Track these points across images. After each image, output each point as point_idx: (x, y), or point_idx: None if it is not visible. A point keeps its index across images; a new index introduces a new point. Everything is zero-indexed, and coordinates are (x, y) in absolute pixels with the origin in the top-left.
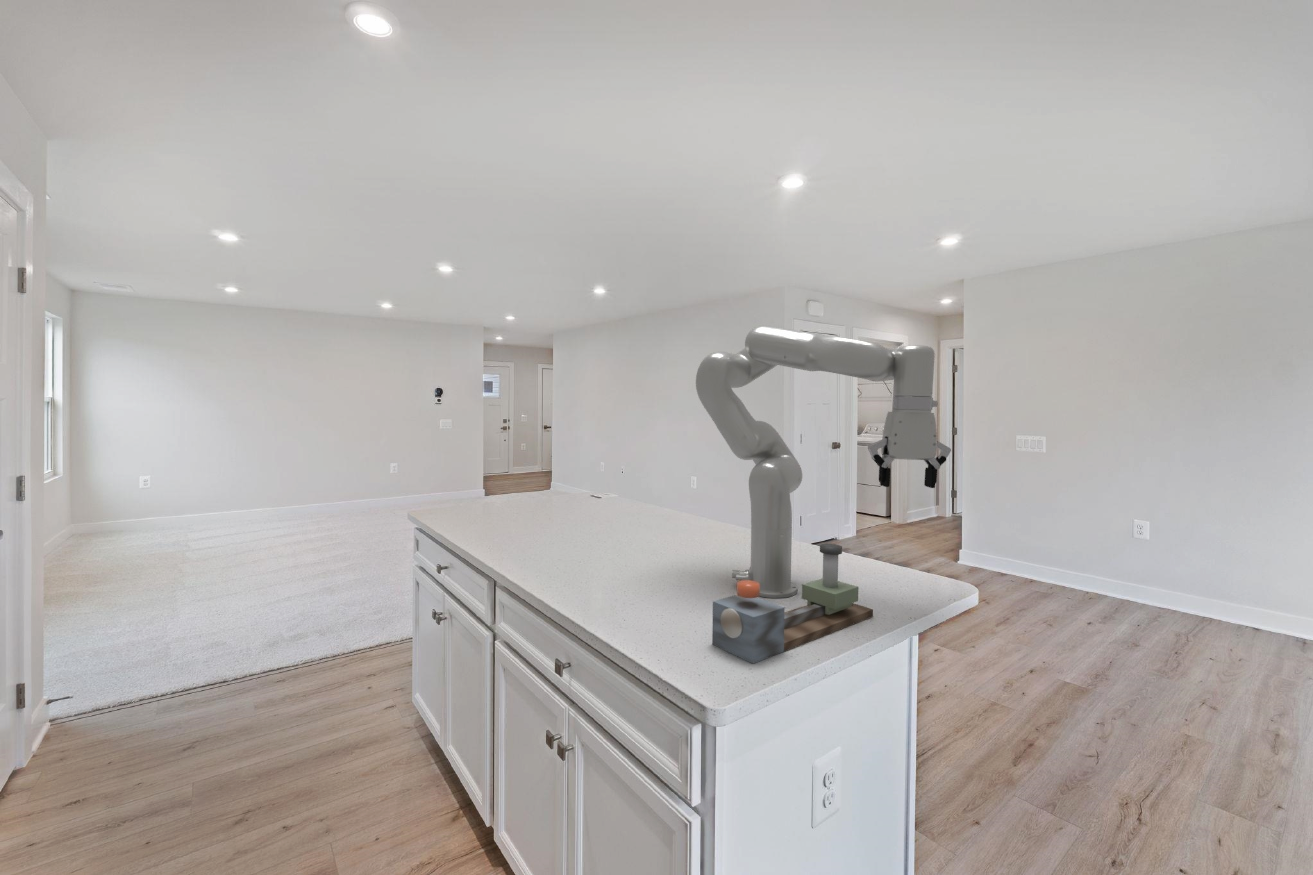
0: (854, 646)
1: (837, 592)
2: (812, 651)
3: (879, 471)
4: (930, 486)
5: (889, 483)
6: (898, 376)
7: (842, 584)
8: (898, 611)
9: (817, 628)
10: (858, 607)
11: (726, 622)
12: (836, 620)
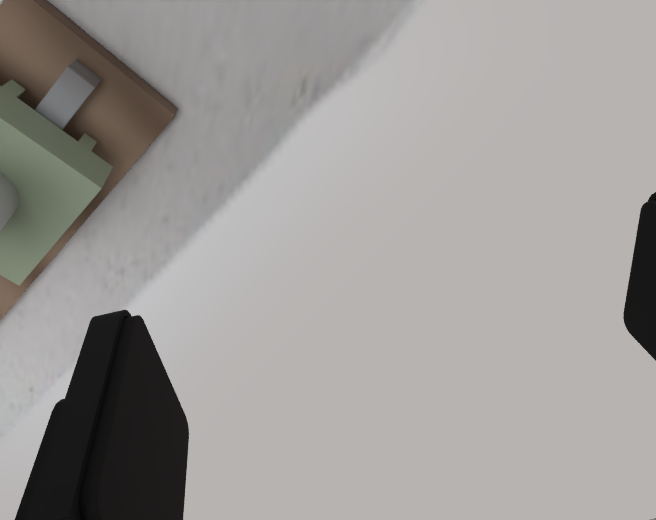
0: None
1: (25, 265)
2: (12, 360)
3: (27, 511)
4: (630, 313)
5: (184, 453)
6: None
7: (36, 170)
8: (278, 26)
9: (3, 301)
10: (124, 105)
11: None
12: None
